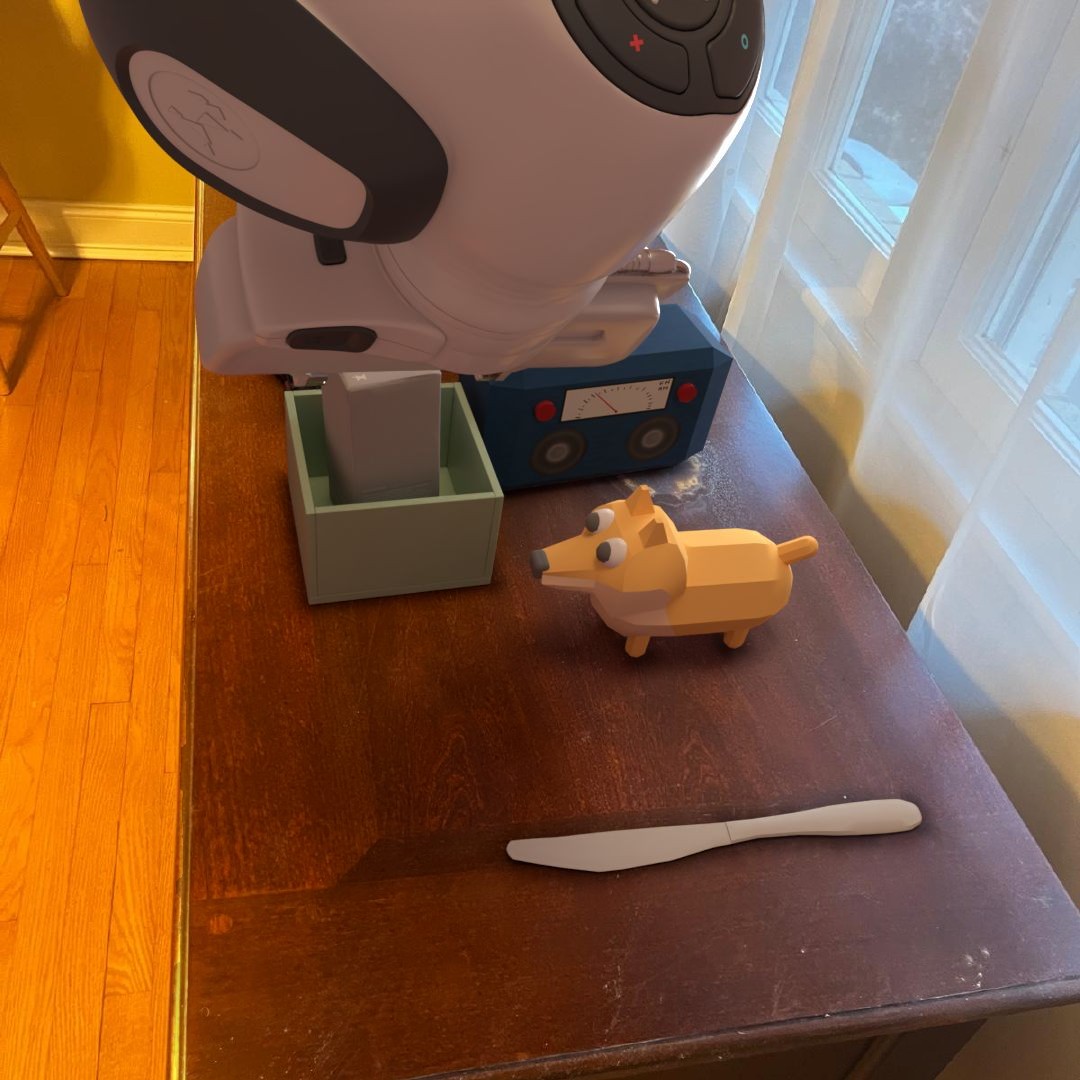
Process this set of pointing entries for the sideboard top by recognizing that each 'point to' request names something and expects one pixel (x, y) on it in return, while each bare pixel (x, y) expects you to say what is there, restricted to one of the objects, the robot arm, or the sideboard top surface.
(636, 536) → the dog
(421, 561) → the open storage box
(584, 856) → the butter knife
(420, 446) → the cosmetic box
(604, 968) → the sideboard top surface
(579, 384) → the radio
